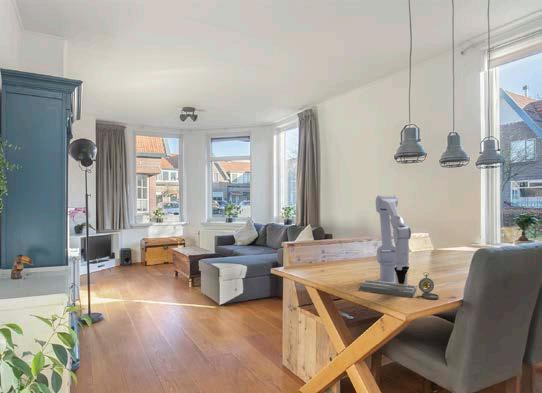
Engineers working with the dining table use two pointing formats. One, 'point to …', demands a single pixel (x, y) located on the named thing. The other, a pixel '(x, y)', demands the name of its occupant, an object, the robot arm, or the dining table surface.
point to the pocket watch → (425, 283)
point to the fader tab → (404, 281)
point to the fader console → (388, 288)
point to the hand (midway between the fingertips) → (401, 282)
